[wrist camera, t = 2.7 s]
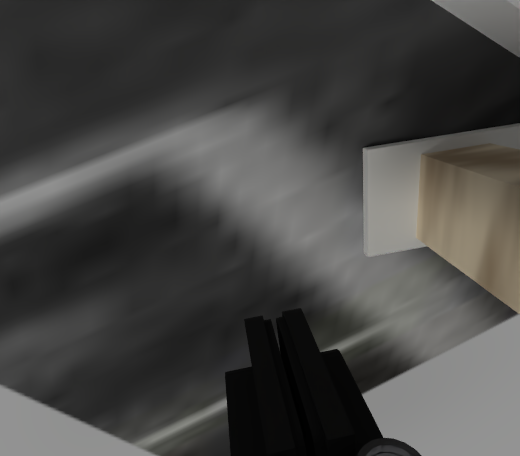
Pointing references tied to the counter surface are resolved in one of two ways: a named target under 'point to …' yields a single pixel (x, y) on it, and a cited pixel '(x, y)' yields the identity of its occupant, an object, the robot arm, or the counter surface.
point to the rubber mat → (409, 184)
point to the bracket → (490, 19)
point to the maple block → (474, 214)
